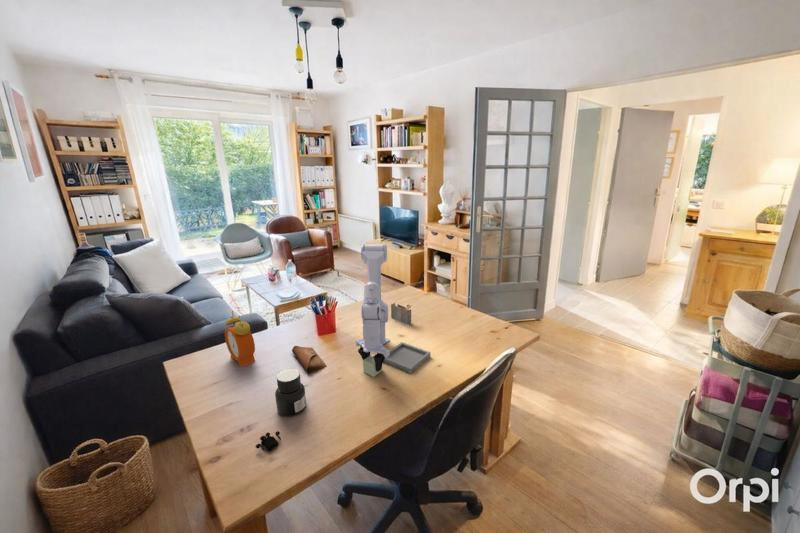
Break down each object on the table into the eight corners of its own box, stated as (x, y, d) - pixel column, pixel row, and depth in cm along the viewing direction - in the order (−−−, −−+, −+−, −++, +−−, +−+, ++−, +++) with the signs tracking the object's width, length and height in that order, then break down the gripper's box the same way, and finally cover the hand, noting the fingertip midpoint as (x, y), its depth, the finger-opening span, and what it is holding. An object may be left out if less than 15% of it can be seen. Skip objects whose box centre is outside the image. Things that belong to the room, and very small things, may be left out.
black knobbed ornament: (262, 454, 90) (252, 440, 92) (261, 460, 91) (251, 446, 93) (285, 438, 95) (275, 425, 97) (284, 444, 96) (274, 431, 98)
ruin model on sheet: (411, 323, 166) (411, 305, 163) (407, 325, 164) (407, 307, 161) (395, 316, 173) (395, 298, 171) (391, 318, 171) (391, 300, 168)
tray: (380, 361, 134) (380, 356, 133) (401, 346, 144) (401, 342, 144) (410, 373, 126) (410, 368, 125) (430, 356, 136) (430, 352, 136)
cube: (363, 372, 126) (363, 360, 125) (372, 365, 130) (371, 354, 129) (373, 376, 124) (373, 364, 122) (382, 370, 127) (382, 358, 126)
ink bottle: (304, 416, 104) (301, 383, 101) (274, 420, 103) (270, 386, 100) (307, 396, 114) (304, 364, 110) (280, 399, 112) (276, 367, 109)
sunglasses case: (329, 366, 130) (319, 356, 126) (314, 380, 128) (304, 370, 124) (311, 346, 144) (302, 336, 141) (298, 358, 142) (288, 349, 138)
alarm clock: (227, 356, 137) (219, 310, 131) (242, 350, 142) (236, 305, 136) (241, 369, 129) (234, 320, 123) (257, 362, 133) (251, 315, 127)
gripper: (349, 333, 124) (351, 366, 128) (380, 345, 115) (381, 380, 119) (362, 326, 129) (363, 357, 133) (393, 337, 121) (393, 370, 125)
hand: (372, 367), depth 127 cm, fingers closed on cube, 5 cm apart
